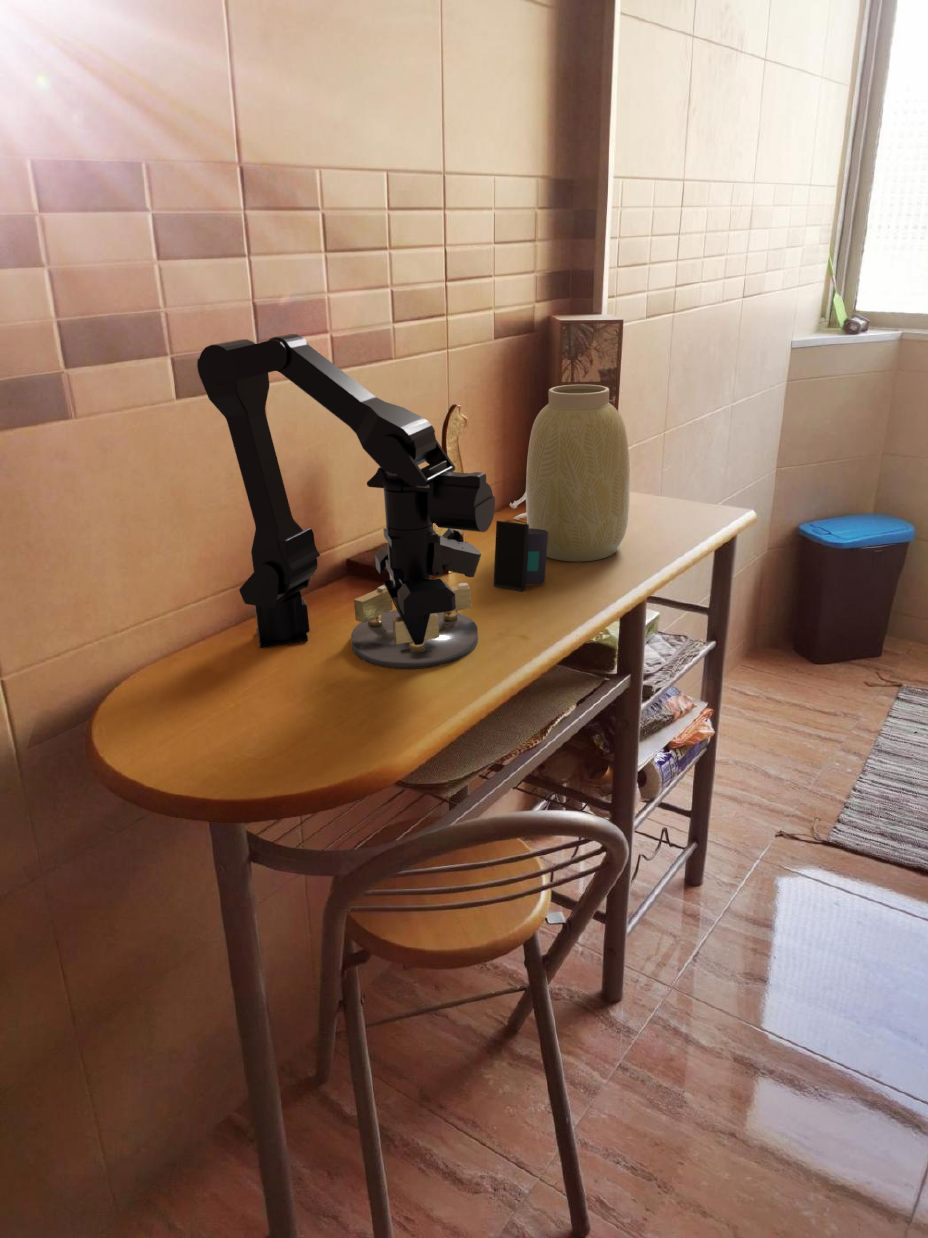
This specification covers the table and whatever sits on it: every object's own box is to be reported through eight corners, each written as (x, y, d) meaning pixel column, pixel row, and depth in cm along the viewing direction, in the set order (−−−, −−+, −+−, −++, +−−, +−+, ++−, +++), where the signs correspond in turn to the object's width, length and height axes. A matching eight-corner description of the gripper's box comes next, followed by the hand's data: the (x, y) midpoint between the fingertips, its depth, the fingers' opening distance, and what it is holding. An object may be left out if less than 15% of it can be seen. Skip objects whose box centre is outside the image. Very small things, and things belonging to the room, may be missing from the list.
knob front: (397, 655, 118) (395, 619, 116) (394, 649, 120) (391, 614, 118) (440, 649, 119) (438, 613, 117) (436, 643, 121) (434, 608, 119)
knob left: (366, 633, 125) (363, 599, 123) (355, 630, 126) (352, 596, 124) (394, 619, 129) (392, 586, 127) (384, 616, 130) (381, 584, 128)
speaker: (518, 594, 139) (520, 526, 136) (492, 587, 144) (493, 520, 141) (553, 586, 144) (556, 520, 141) (528, 579, 148) (530, 515, 145)
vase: (556, 572, 148) (557, 402, 138) (509, 543, 163) (506, 387, 153) (647, 555, 155) (655, 390, 144) (594, 528, 169) (597, 377, 159)
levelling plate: (364, 677, 116) (362, 661, 115) (342, 627, 131) (341, 612, 130) (494, 657, 120) (493, 642, 119) (458, 610, 135) (457, 596, 134)
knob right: (432, 624, 127) (430, 591, 125) (428, 619, 128) (427, 586, 126) (471, 619, 128) (470, 586, 126) (467, 614, 130) (466, 581, 128)
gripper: (496, 537, 107) (498, 660, 113) (453, 497, 123) (457, 606, 129) (401, 549, 104) (409, 674, 110) (370, 506, 120) (379, 617, 127)
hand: (416, 640), depth 119 cm, fingers closed on knob front, 2 cm apart
